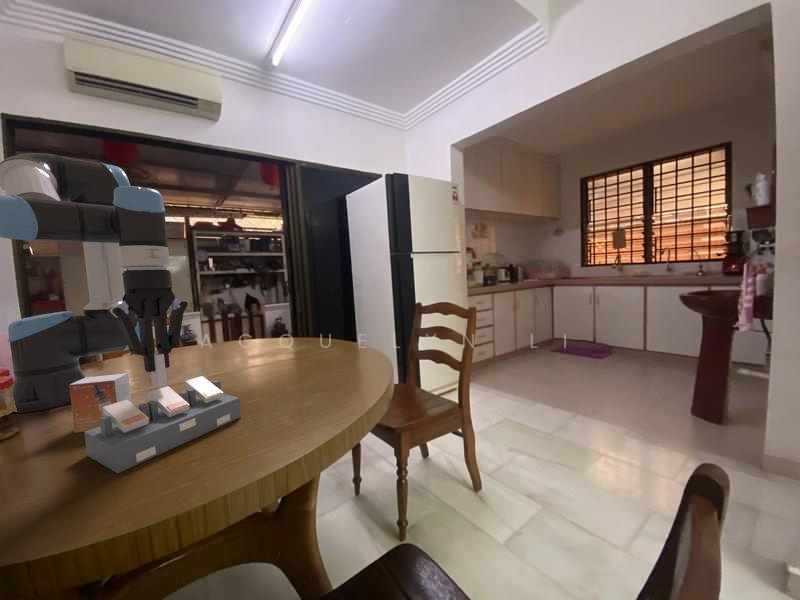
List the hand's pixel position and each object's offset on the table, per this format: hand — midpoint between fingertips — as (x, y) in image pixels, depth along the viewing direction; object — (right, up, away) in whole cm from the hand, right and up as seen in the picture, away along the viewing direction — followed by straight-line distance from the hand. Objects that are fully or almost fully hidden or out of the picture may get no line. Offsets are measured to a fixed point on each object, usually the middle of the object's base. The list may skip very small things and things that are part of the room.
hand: (159, 385), depth 65 cm
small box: (-16, -10, +5) cm, 19 cm away
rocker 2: (+3, -3, -1) cm, 4 cm away
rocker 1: (-1, -3, -7) cm, 8 cm away
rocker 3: (+6, -2, +5) cm, 8 cm away
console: (+3, -10, 0) cm, 10 cm away
